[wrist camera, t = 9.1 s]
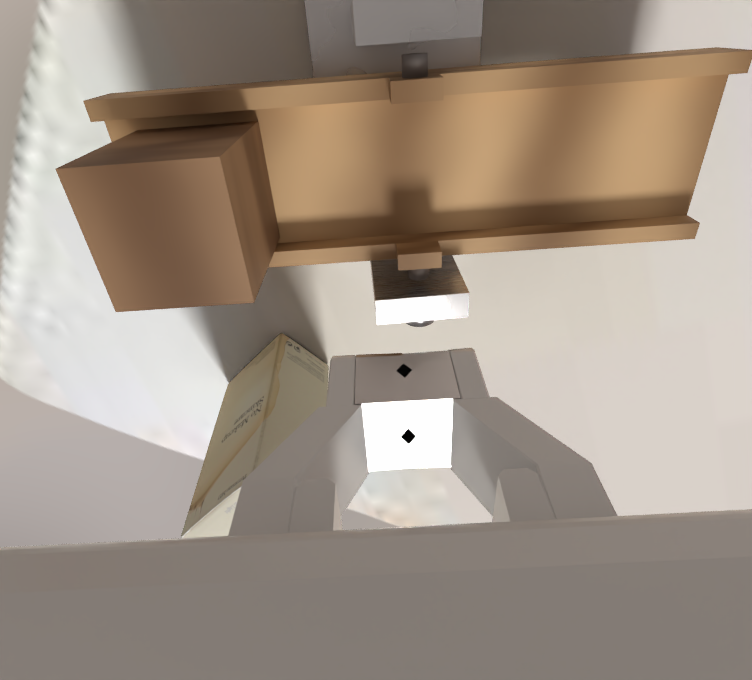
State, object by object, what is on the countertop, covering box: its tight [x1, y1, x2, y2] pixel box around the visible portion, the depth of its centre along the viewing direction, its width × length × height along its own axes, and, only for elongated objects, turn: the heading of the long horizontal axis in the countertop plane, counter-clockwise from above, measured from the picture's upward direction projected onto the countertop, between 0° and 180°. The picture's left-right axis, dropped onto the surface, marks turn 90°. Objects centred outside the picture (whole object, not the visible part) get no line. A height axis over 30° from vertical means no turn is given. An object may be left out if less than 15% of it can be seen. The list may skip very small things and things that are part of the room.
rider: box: [56, 121, 280, 312], centre depth 18 cm, size 5×5×6 cm
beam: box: [84, 47, 752, 281], centre depth 21 cm, size 24×8×6 cm, turn 94°
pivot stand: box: [304, 0, 483, 327], centre depth 22 cm, size 8×13×9 cm, turn 4°
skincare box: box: [181, 333, 329, 538], centre depth 29 cm, size 6×4×12 cm
